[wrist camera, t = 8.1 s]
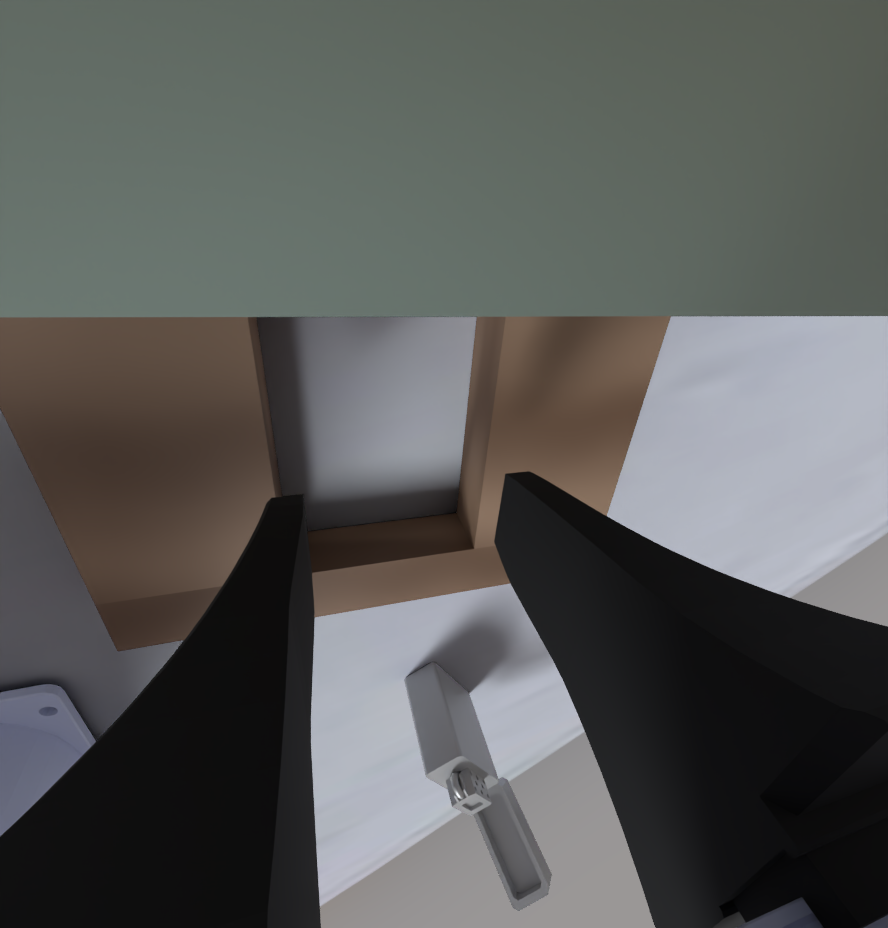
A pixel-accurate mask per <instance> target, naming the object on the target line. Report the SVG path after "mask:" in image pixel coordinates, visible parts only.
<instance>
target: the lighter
mask: <svg viewBox="0 0 888 928" xmlns="http://www.w3.org/2000/svg"><path fill="white" fill-rule="evenodd" d="M405 685H406V690H407V694H408V699H409V703H410V708H411V712H412V716H413V721H414V725H415V730H416V734H417V739H418V743H419V747H420V752H421V756H422V761H423V765H424V770H425V774H426V777H427V778H428V779H430V780H432V781H434V782H435V783H437V784H439V785H441V786H442V787H444V788H446V789H448V792H449V795H450V799H451V803H452V807H454V808H456V809H458V810H460V811H462V812H464V813H466V814H468V815H469V816H470V815H474V817H475V819H476V822H477V824H478V826H479V829H480V831H481V833H482V836H483V838H484V841H485V843H486V845H487V848H488V850H489V852H490V855H491V857H492V860H493V862H494V864H495V867H496V869H497V871H498V874H499V876H500V878H501V881H502V883H503V885H504V888H505V890H506V893H507V895H508V897H509V899H510V902H511V905H512V907H513V908H514V909H516V910H518V911H520V910H521V909H523V908H525V907H527V906H529V905H530V904H532V903H534V902H536V901H538V900H539V899H541V898H543V897H545V896H546V895H548V891H549V886H550V881H551V876H552V874H551V872H550V870H549V867H548V865H547V863H546V861H545V859H544V857H543V855H542V852H541V850H540V848H539V846H538V844H537V842H536V840H535V838H534V835H533V833H532V831H531V829H530V827H529V825H528V823H527V820H526V819H525V816H524V814H523V812H522V810H521V808H520V805H519V804H518V801H517V799H516V797H515V795H514V793H513V791H512V788H511V786H510V784H509V782H508V780H507V779H505V778H503V777H502V778H500V779H498V776H497V773H496V770H495V767H494V765H493V762H492V759H491V756H490V753H489V750H488V747H487V744H486V741H485V738H484V735H483V733H482V730H481V727H480V724H479V721H478V718H477V715H476V712H475V709H474V706H473V703H472V701H471V698H470V695H469V692H468V691H466V690H465V689H464V688H463V687H462V686H461V685H460V684H459V683H457V682H456V681H455V680H454V679H453V678H452V677H451V676H450V675H449V674H447V673H446V672H445V671H444V670H443V669H442V668H441V667H440V666H439V665H437V664H436V663H429V664H428V665H426V666H424V667H423V668H421V669H419V670H418V671H416V672H414V673H412V674H411V675H409V676H407V677H406V678H405Z"/></svg>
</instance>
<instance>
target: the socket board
mask: <svg viewBox="0 0 888 928" xmlns="http://www.w3.org/2000/svg"><path fill="white" fill-rule="evenodd" d="M671 316H888V0H0V409H1V411H2V413H3V415H4V417H5V419H6V421H7V423H8V425H9V427H10V429H11V431H12V433H13V436H14V438H15V440H16V442H17V444H18V446H19V448H20V450H21V452H22V454H23V456H24V458H25V460H26V462H27V465H28V467H29V469H30V471H31V473H32V475H33V477H34V479H35V481H36V483H37V485H38V487H39V489H40V492H41V494H42V496H43V498H44V500H45V502H46V504H47V506H48V508H49V510H50V512H51V514H52V516H53V518H54V521H55V523H56V525H57V527H58V529H59V531H60V533H61V535H62V537H63V539H64V541H65V543H66V545H67V548H68V550H69V552H70V554H71V556H72V558H73V560H74V562H75V564H76V566H77V568H78V570H79V572H80V574H81V577H82V579H83V581H84V583H85V585H86V587H87V589H88V591H89V593H90V595H91V597H92V599H93V601H94V603H95V606H96V608H97V610H98V612H99V614H100V616H101V618H102V620H103V622H104V624H105V626H106V628H107V630H108V633H109V635H110V637H111V639H112V641H113V643H114V645H115V647H116V649H117V651H123V650H129V649H135V648H141V647H146V646H152V645H158V644H164V643H169V642H175V641H181V640H185V639H186V637H187V636H188V635H189V633H190V632H191V631H192V629H193V628H194V627H195V625H196V624H197V622H198V621H199V620H200V618H201V617H202V616H203V614H204V613H205V611H206V610H207V608H208V607H209V605H210V604H211V602H212V601H213V599H214V598H215V596H216V595H217V593H218V592H219V590H220V589H221V587H222V586H223V584H224V583H225V581H226V580H227V578H228V577H229V575H230V573H231V572H232V570H233V568H234V567H235V565H236V563H237V561H238V560H239V558H240V556H241V554H242V553H243V551H244V549H245V547H246V546H247V544H248V542H249V540H250V538H251V536H252V534H253V532H254V530H255V528H256V526H257V524H258V522H259V520H260V518H261V515H262V513H263V511H264V508H265V505H266V503H267V502H268V501H269V500H270V499H271V498H273V497H282V491H281V484H280V477H279V470H278V463H277V456H276V449H275V442H274V435H273V428H272V421H271V415H270V408H269V401H268V394H267V387H266V380H265V373H264V366H263V359H262V352H261V345H260V338H259V331H258V324H257V317H477V320H476V330H475V340H474V349H473V359H472V368H471V378H470V388H469V397H468V407H467V417H466V426H465V436H464V445H463V455H462V465H461V474H460V484H459V493H458V503H457V513H453V514H445V515H437V516H429V517H421V518H413V519H405V520H397V521H389V522H381V523H372V524H364V525H356V526H348V527H340V528H332V529H324V530H316V531H308V532H307V533H308V541H309V550H310V559H311V568H312V581H313V595H314V610H315V615H314V617H319V616H325V615H331V614H336V613H342V612H348V611H354V610H359V609H365V608H371V607H377V606H382V605H388V604H394V603H400V602H405V601H411V600H417V599H423V598H429V597H434V596H440V595H446V594H452V593H457V592H463V591H469V590H475V589H480V588H486V587H492V586H498V585H503V584H509V583H510V581H509V579H508V577H507V574H506V572H505V569H504V567H503V564H502V562H501V559H500V556H499V554H498V551H497V548H496V545H495V543H494V539H495V533H496V527H497V521H498V515H499V509H500V503H501V497H502V490H503V484H504V478H505V474H507V473H517V472H527V471H530V472H532V473H534V474H536V475H538V476H540V477H542V478H543V479H545V480H547V481H549V482H550V483H552V484H554V485H555V486H557V487H559V488H560V489H562V490H564V491H565V492H567V493H569V494H570V495H572V496H574V497H575V498H577V499H578V500H580V501H582V502H583V503H585V504H587V505H588V506H590V507H592V508H593V509H595V510H597V511H599V512H600V513H602V514H604V515H605V516H607V513H608V510H609V506H610V503H611V500H612V497H613V494H614V491H615V488H616V485H617V482H618V479H619V475H620V472H621V469H622V466H623V463H624V460H625V457H626V454H627V451H628V448H629V444H630V441H631V438H632V435H633V432H634V429H635V426H636V423H637V420H638V416H639V413H640V410H641V407H642V404H643V401H644V398H645V395H646V392H647V389H648V385H649V382H650V379H651V376H652V373H653V370H654V367H655V364H656V361H657V358H658V354H659V351H660V348H661V345H662V342H663V339H664V336H665V333H666V330H667V326H668V323H669V320H670V317H671Z"/></svg>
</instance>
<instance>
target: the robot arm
mask: <svg viewBox="0 0 888 928" xmlns="http://www.w3.org/2000/svg"><path fill="white" fill-rule="evenodd" d="M494 543H495V545H496V548H497V551H498V554H499V556H500V559H501V562H502V564H503V567H504V569H505V572H506V574H507V577H508V579H509V581H510V583H511V585H512V587H513V589H514V590H515V592H516V594H517V596H518V598H519V600H520V601H521V603H522V605H523V607H524V609H525V611H526V612H527V614H528V616H529V618H530V620H531V621H532V623H533V625H534V627H535V629H536V630H537V632H538V634H539V636H540V638H541V639H542V641H543V643H544V645H545V647H546V648H547V650H548V652H549V654H550V656H551V657H552V659H553V661H554V663H555V665H556V667H557V669H558V671H559V673H560V675H561V677H562V679H563V681H564V683H565V685H566V688H567V690H568V692H569V695H570V697H571V699H572V702H573V704H574V706H575V709H576V711H577V713H578V716H579V718H580V720H581V723H582V725H583V727H584V730H585V732H586V735H587V737H588V740H589V742H590V745H591V747H592V750H593V752H594V755H595V757H596V760H597V762H598V765H599V767H600V770H601V772H602V775H603V778H604V780H605V783H606V786H607V788H608V791H609V794H610V797H611V799H612V802H613V804H614V807H615V810H616V813H617V815H618V818H619V820H620V823H621V826H622V829H623V832H624V834H625V838H626V841H627V843H628V847H629V849H630V852H631V855H632V858H633V861H634V864H635V867H636V870H637V873H638V876H639V879H640V882H641V885H642V888H643V891H644V894H645V897H646V900H647V903H648V906H649V909H650V913H651V916H652V919H653V922H654V925H655V927H656V928H888V627H887V626H883V625H879V624H875V623H872V622H867V621H864V620H860V619H856V618H852V617H849V616H846V615H842V614H839V613H836V612H832V611H829V610H826V609H823V608H819V607H816V606H813V605H810V604H807V603H803V602H800V601H797V600H794V599H791V598H788V597H785V596H782V595H779V594H777V593H774V592H771V591H768V590H765V589H763V588H760V587H757V586H755V585H752V584H749V583H747V582H744V581H741V580H739V579H736V578H733V577H731V576H728V575H726V574H723V573H721V572H718V571H716V570H714V569H711V568H709V567H706V566H704V565H702V564H700V563H698V562H695V561H693V560H691V559H689V558H686V557H684V556H682V555H680V554H678V553H675V552H673V551H671V550H669V549H667V548H665V547H663V546H661V545H659V544H657V543H655V542H653V541H651V540H649V539H647V538H645V537H643V536H642V535H640V534H638V533H636V532H634V531H632V530H630V529H628V528H627V527H625V526H623V525H621V524H619V523H618V522H616V521H614V520H612V519H611V518H609V517H607V516H605V515H604V514H602V513H600V512H599V511H597V510H595V509H593V508H592V507H590V506H588V505H587V504H585V503H583V502H582V501H580V500H578V499H577V498H575V497H574V496H572V495H570V494H569V493H567V492H565V491H564V490H562V489H560V488H559V487H557V486H555V485H554V484H552V483H550V482H549V481H547V480H545V479H543V478H542V477H540V476H538V475H536V474H534V473H532V472H530V471H527V472H517V473H507V474H505V478H504V484H503V490H502V497H501V503H500V509H499V515H498V521H497V527H496V533H495V539H494ZM314 615H315V610H314V595H313V581H312V568H311V559H310V550H309V541H308V533H307V524H306V515H305V507H304V498H303V495H293V496H283V497H273V498H271V499H270V500H269V501H268V502H267V503H266V505H265V508H264V511H263V513H262V515H261V518H260V520H259V522H258V524H257V526H256V528H255V530H254V532H253V534H252V536H251V538H250V540H249V542H248V544H247V546H246V547H245V549H244V551H243V553H242V554H241V556H240V558H239V560H238V561H237V563H236V565H235V567H234V568H233V570H232V572H231V573H230V575H229V577H228V578H227V580H226V581H225V583H224V584H223V586H222V587H221V589H220V590H219V592H218V593H217V595H216V596H215V598H214V599H213V601H212V602H211V604H210V605H209V607H208V608H207V610H206V611H205V613H204V614H203V616H202V617H201V618H200V620H199V621H198V622H197V624H196V625H195V627H194V628H193V629H192V631H191V632H190V633H189V635H188V636H187V637H186V639H185V640H184V641H183V643H182V644H181V645H180V646H179V648H178V649H177V650H176V651H175V653H174V654H173V655H172V656H171V658H170V659H169V660H168V661H167V663H166V664H165V665H164V666H163V668H162V669H161V670H160V671H159V672H158V673H157V675H156V676H155V677H154V678H153V679H152V680H151V681H150V683H149V684H148V685H147V686H146V687H145V688H144V690H143V691H142V692H141V693H140V694H139V695H138V697H137V698H136V699H135V700H134V701H133V702H132V704H131V705H130V706H129V707H128V708H127V709H126V710H125V711H124V712H123V713H122V715H121V716H120V717H119V718H118V719H117V720H116V721H115V722H114V723H113V724H112V725H111V727H110V728H109V729H108V730H107V731H106V732H105V733H104V734H103V735H102V736H101V737H100V738H99V739H98V740H97V741H95V739H94V737H93V736H92V734H91V733H90V731H89V729H88V728H87V726H86V725H85V723H84V721H83V720H82V718H81V717H80V715H79V713H78V712H77V710H76V708H75V707H74V705H73V704H72V702H71V700H70V699H69V697H68V696H67V694H66V692H65V691H64V690H63V689H62V688H61V687H60V686H57V685H53V684H43V685H37V686H32V687H27V688H21V689H16V690H10V691H5V692H0V928H321V924H320V906H319V888H318V871H317V853H316V835H315V816H314V798H313V778H312V758H311V696H312V670H313V644H314Z"/></svg>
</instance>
